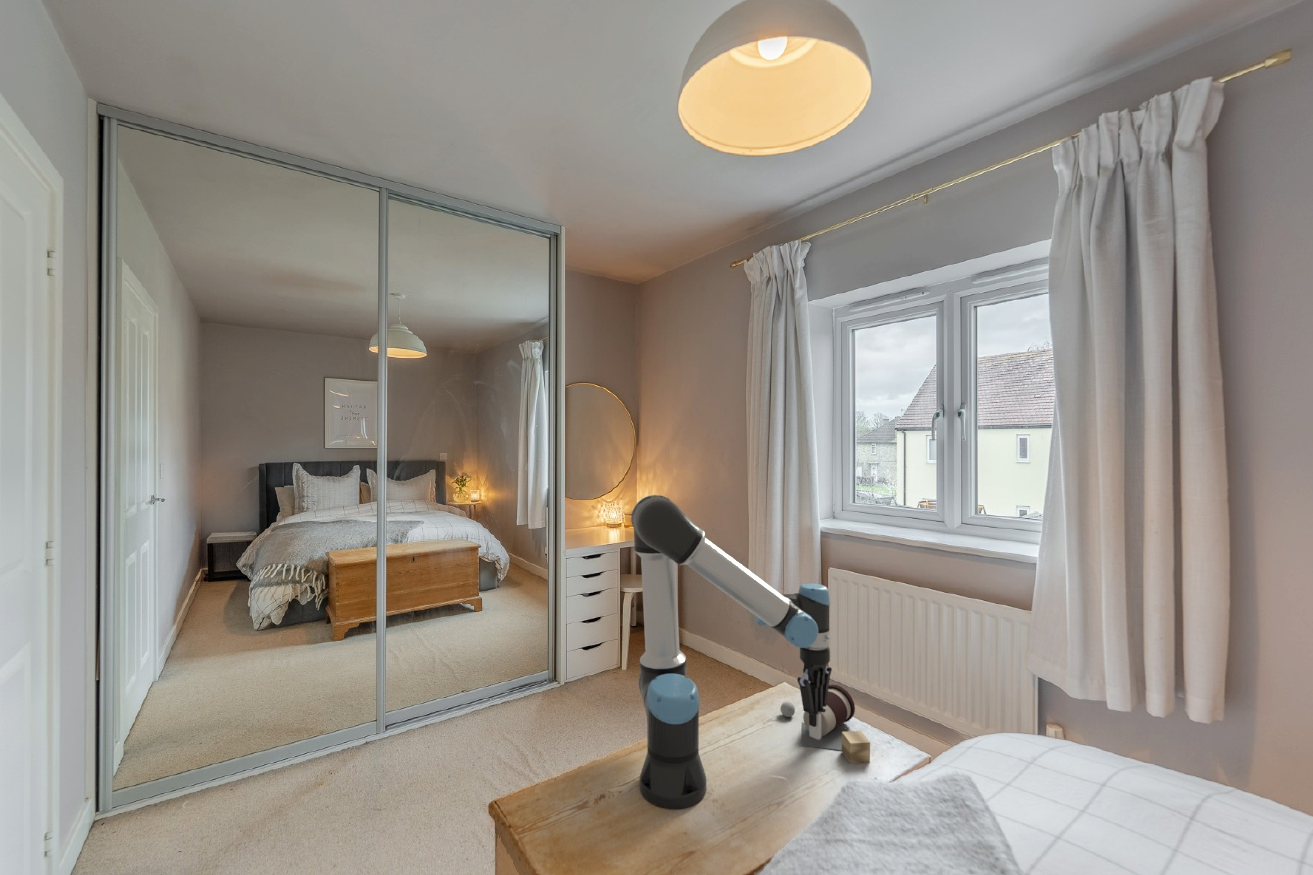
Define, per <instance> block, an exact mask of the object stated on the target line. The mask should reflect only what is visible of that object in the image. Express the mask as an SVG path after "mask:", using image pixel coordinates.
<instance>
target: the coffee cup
mask: <svg viewBox="0 0 1313 875" xmlns="http://www.w3.org/2000/svg"><path fill="white" fill-rule="evenodd" d="M823 709H826V711H825V713H824V712H821V736H824V735H826V734H827V733H828V732H830V731H833V730H834V729H836V728H837V727H840V726H841V725H842V724H844V723H846V722H849V721H850V720H851V719H852V718H853V717H854V715H855V713H856V711H855V710H856V706H855V702H854V699H853V697H852V696H851V694H850V693H849V692H848V691H847V690H846V689H845V688H843V687H842V686H840V685H838V684H829V688H828V697H827V705H826V707H823ZM803 712H804V713H803V716H802V717H803V719H802V720H803V723H805V726H806V727H807V729H808V730H809V713H807V712H805V711H803Z"/></svg>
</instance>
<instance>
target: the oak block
mask: <svg viewBox="0 0 1313 875" xmlns="http://www.w3.org/2000/svg"><path fill="white" fill-rule="evenodd" d="M841 753H842V754H843V755H844V757H845V759H847V761H848V762H849V764H860V763H861V764H862V763H865V764H866V763H871V741H870V740H869V739H868V738H867V737H866V735H865V734H864V732H863V731H862V730H855V731H853V730H852V731H850V730H848V732H842V751H841Z"/></svg>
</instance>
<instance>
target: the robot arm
mask: <svg viewBox="0 0 1313 875" xmlns="http://www.w3.org/2000/svg"><path fill="white" fill-rule="evenodd" d="M631 512H632V513H631V517H630V518H631V519H630V522H631V526H632V528H633V541H634V542H633V544H634V546H633V547H634V552H635V554H636V555H638V556H639V557H640V561H641V563H640V564H641V565H640V566H641V581H642V582H641V583H642V605H643V606H642V607H643V623H644V630H643V631H644V648H645V652H644V653H643V654H642V655H641V656H640V658H639V667H640V670H639V671H640V672H639V678H638V689H639V692H640V694H641V698H642V702H643V706H644V710H645V714H646V720H647V721H646V723H647V733H646V736H647V741H646V743H647V747H646V748H647V751H646V756H645V760H644V762H643V766H642V769H641V771H640V775H639V792H640V794H641V796H642V797H643V798H644V800H646V801H647V802H649V803H651V804H653V805H655V806H657V807H660V808H665V809H682V808H683V809H684V808H688V807H691V806H693V805H695V804H697V803H699V802H701V800H702V799H703V798H704V797H705V796H706V793H707V776H706V772H705V768H704V767H703V763H702V760H701V756H700V753H699V744H700V743H699V740H700V739H699V736H700V735H699V732H700V730H699V726H700V725H699V724H700V723H699V722H700V720H699V718H700V716H699V715H700V696H699V689H698V686H697V685H696V683H695V682H694V681H693V680H692V679H691V678H690V677H688V674H687V673H688V672H687V671H688V670H687V657H686V655H685V653H683V651H681V650H680V634H679V633H680V632H679V608H678V592H677V591H678V590H677V588H678V587H677V568H676V566H677V565H679V566H684V565H686V566H688V567H689V568H690V569H692V570H693V571H694V572H696V573H697V574H698V575H699V576H701V577H703V578H704V579H705V580H706V581H708V582H709V583H711V584H712V585H713V586H715V587H716V588H717V589H719V590H720V591H721V592H723V593H725V595H727V596H728V597H730V598H731V599H733V600H734V601H735V602H736V603H738V604H740V606H742V607H743V608H745V609H746V610H747V611H748V612H749V613H751V614H753V616H754V620H755V622H756V624H757V625H759V626H767V627H770V628H771V629H773V630H774V631H775V632H777V633H778V634H780V635H781V637H784V638H785V639H786V641H787V642H788V643H789V644H791V645H793V646H794V647H796V648H799V659H800V660H801V661H802V663H803V669H802V672H803V675H802V676H801V677H799V676H798V677H797V680H796V681H797V683H798V686H799V691H800V696H801V703H802V709H803V712H807V713H809V736H810V737H813V738H815V739H818V740H820V739H821V712H824V713H825V711H826V709H823V707H826V705H827V697H828V688H829V685H830V680H831V679H830V678H831V674H832V672H833V670H832V667H830V666H827V665H828V664H829V663H830V661H831V649H830V642H831V636H830V606H831V601H830V592H829V589H828V587H827V586H825V585H823V584H821V583H820V584H819V583H811V582H810V583H803V584H801V585H800V586H799V587H798V592H796V593H780V592H778V591H777V590H776V589H775V588H773V587H772V586H770V585H769V584H768V583H766V582H765V581H764V580H763V579H761V578H760V577H759V576H758V575H756V574H754V573H753V572H752V571H751V570H749V569H748V568H747V567H745V566H744V565H743V564H741V563H740V562H739V561H737V560H736V559H735V558H733V557H732V556H731V555H729V554H728V553H726V552H725V551H724V550H722V549H721V548H720V547H719V546H717V545H716V544H714V543H713V542H712V541H711V540H710V539H708V538H707V537H706V534H705V531H704V529H702V528H701V527H700V526H698V525H697V524H696V523H695V522H693V521H692V519H691V518H689V516H687V514H686V513H684V511H682V509H681V508H680V507H679V506H678V505H677V504H676V503H674V502H673V501H672V500H671V499H670V498H668V497H666V496H665V495H657V494H651V495H648V496H645V497H643V498H641V499H640V500H639V501H638V502H637V503H636V504H635V506H634V507H633V510H632V511H631ZM676 564H677V565H676Z"/></svg>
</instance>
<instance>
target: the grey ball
mask: <svg viewBox="0 0 1313 875" xmlns="http://www.w3.org/2000/svg"><path fill="white" fill-rule="evenodd" d="M780 712H781V714H782V715H783V716H784V717H785V718H791V717H793V716H794V715H795V713H796V708H795V706H794V704H793V703H792V702H790V701H784V702H782V703H781V706H780Z"/></svg>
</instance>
